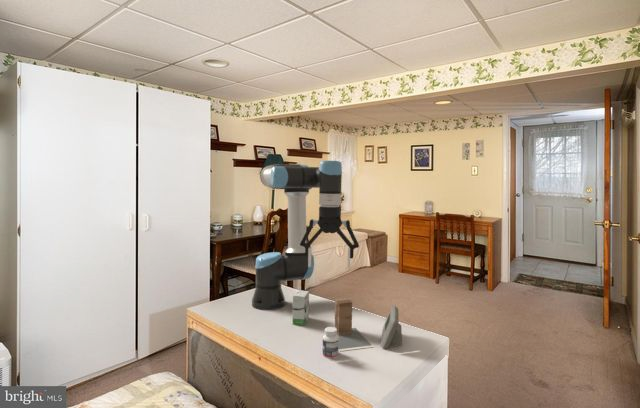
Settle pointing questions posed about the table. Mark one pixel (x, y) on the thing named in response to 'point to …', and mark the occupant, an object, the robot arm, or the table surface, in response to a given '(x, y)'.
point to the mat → (353, 341)
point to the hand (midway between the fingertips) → (329, 266)
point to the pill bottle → (330, 343)
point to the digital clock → (392, 330)
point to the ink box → (300, 307)
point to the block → (343, 316)
